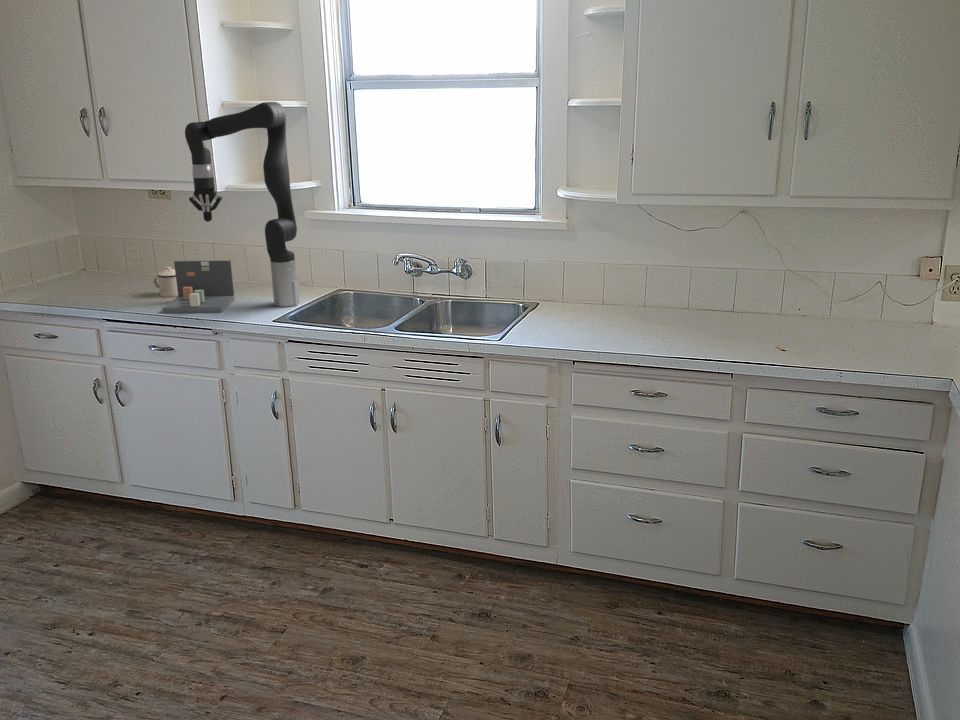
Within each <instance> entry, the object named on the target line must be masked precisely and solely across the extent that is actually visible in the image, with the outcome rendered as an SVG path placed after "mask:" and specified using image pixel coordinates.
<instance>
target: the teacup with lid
mask: <svg viewBox="0 0 960 720" xmlns="http://www.w3.org/2000/svg"><path fill="white" fill-rule="evenodd" d="M156 275H157V276H155V277H154V278H153V284H154V286H155V288H157V289H159V294H160V297H163V298H174V297H175V298H177V297H178V290H177V282H176V273H175V268H172V267H171V266H165V268H164V269H163V270H161V271H160V272H158V273H156ZM157 280H158V282H157Z"/></svg>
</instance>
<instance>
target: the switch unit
mask: <svg viewBox="0 0 960 720" xmlns="http://www.w3.org/2000/svg"><path fill="white" fill-rule="evenodd" d="M173 264H174V270H175V273H176V282H177V290H178V296H176V297H175V298H174V299H173V300H171V301H170V302H169V303H167V304H166V305H164V306H163V307H162V313H163V314H183V313H184V314H185V313H186V314H193V313H196V312H198V314H199V313H200V314H201V313H203V312H209V313H223V312H224V311H225V310H226V309H227V308H228V307H229V306H230V305H231V304H232V303H233V302H235V300H236V298H235V297H236V296H235V289H234V288H235V287H234V277H233V268H232V261H231V260H229V259H228V260H225V259H224V260H174V262H173ZM183 287H192V289H193V293H194V291H195V290H204V297H205V302H203V303H200V305H199V306H190V299H188V300H184V297H183V289H182V288H183ZM196 314H197V313H196ZM203 314H204V313H203Z"/></svg>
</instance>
